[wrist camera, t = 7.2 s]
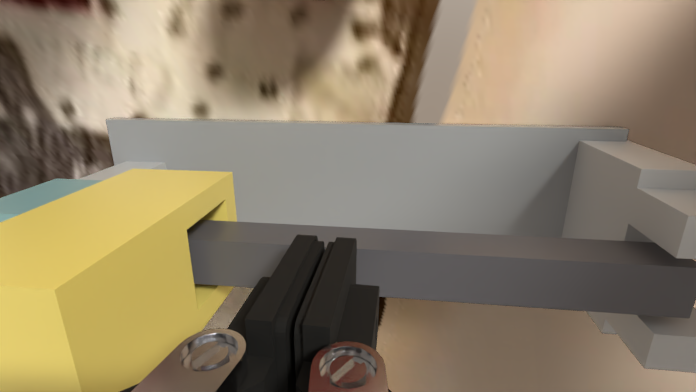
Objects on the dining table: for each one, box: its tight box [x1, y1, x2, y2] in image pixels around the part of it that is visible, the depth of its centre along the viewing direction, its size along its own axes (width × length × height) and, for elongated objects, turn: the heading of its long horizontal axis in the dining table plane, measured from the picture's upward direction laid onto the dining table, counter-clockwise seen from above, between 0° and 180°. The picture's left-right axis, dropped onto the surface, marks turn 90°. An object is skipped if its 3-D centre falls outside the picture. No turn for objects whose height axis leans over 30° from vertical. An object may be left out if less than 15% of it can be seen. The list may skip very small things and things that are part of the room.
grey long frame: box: [0, 118, 696, 373], centre depth 15 cm, size 23×7×8 cm, turn 90°
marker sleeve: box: [0, 169, 237, 392], centre depth 12 cm, size 4×4×8 cm
